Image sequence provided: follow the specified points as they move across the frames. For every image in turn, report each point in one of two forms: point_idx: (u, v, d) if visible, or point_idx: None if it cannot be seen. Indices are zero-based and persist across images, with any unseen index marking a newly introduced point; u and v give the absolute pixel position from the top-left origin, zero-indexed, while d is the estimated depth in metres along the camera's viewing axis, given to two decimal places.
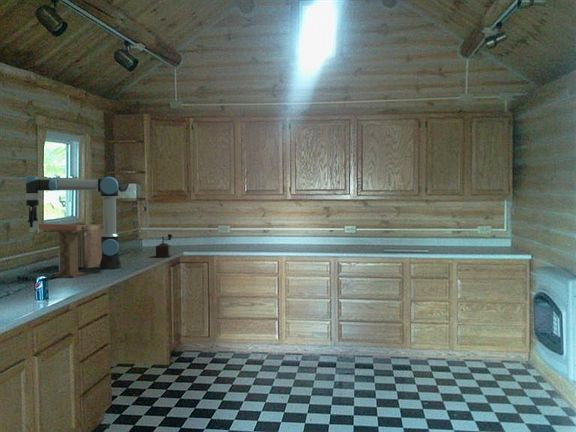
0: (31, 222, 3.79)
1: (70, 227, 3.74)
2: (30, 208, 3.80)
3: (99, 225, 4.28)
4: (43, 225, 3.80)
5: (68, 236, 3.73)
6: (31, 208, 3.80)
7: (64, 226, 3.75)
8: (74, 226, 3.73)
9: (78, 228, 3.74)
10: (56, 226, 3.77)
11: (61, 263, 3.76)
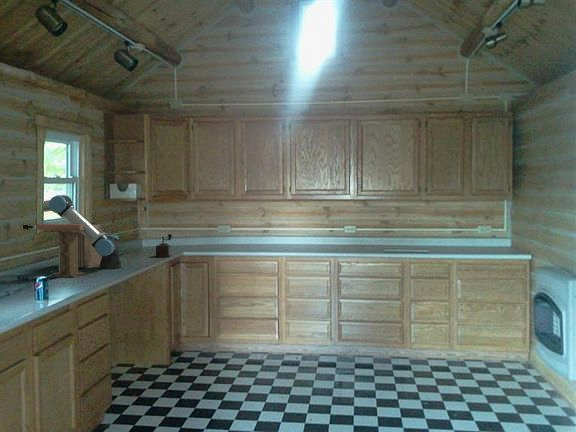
0: (27, 226, 3.83)
1: (72, 227, 3.76)
2: None
3: (99, 225, 4.28)
4: (41, 225, 3.78)
5: (68, 236, 3.73)
6: None
7: (65, 226, 3.76)
8: (77, 226, 3.75)
9: (81, 228, 3.77)
10: (56, 226, 3.77)
11: (61, 263, 3.76)
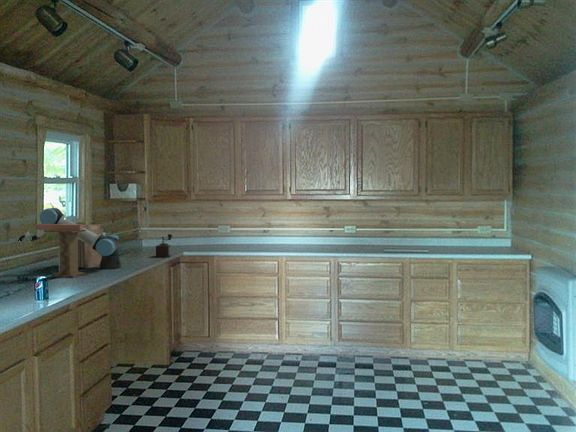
0: (20, 237, 3.79)
1: (72, 227, 3.76)
2: None
3: (99, 225, 4.28)
4: (41, 225, 3.78)
5: (68, 236, 3.73)
6: None
7: (65, 226, 3.76)
8: (77, 226, 3.75)
9: (81, 228, 3.77)
10: (56, 226, 3.77)
11: (61, 263, 3.76)
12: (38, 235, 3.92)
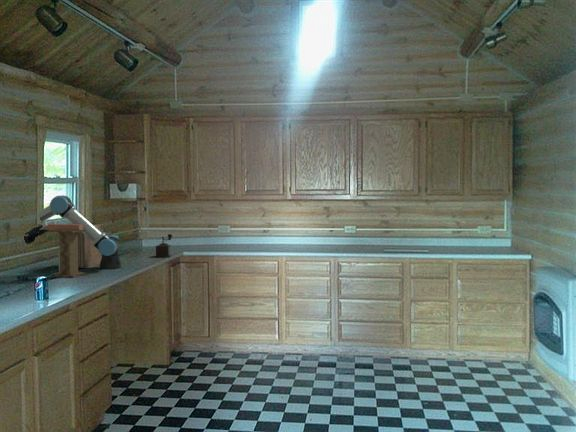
0: (37, 228, 3.78)
1: (72, 227, 3.75)
2: (26, 235, 3.80)
3: (99, 225, 4.28)
4: None
5: (68, 236, 3.73)
6: (26, 235, 3.80)
7: (65, 226, 3.76)
8: (76, 226, 3.74)
9: (80, 228, 3.76)
10: (57, 226, 3.77)
11: (61, 263, 3.76)
12: None
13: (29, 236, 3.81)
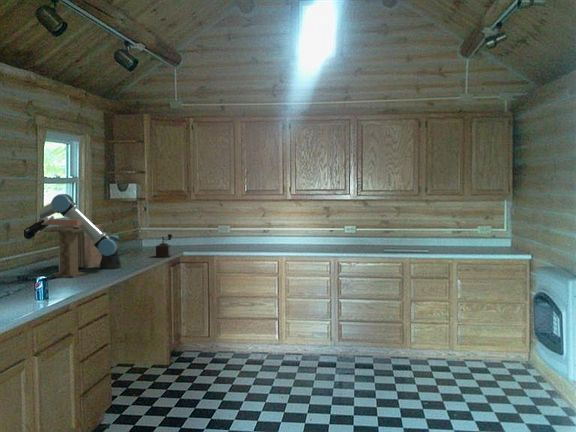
0: (39, 222, 3.79)
1: (70, 222, 3.74)
2: (27, 230, 3.80)
3: (99, 225, 4.28)
4: None
5: (68, 236, 3.73)
6: (26, 229, 3.80)
7: (64, 221, 3.75)
8: (74, 221, 3.73)
9: (78, 223, 3.74)
10: (56, 221, 3.77)
11: (61, 263, 3.76)
12: None
13: (29, 231, 3.81)
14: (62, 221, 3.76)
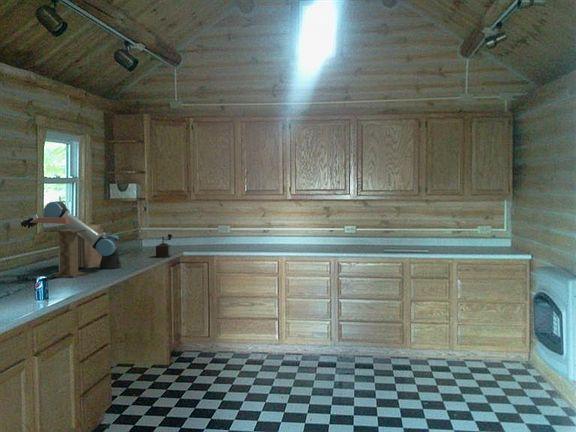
0: (28, 220, 3.82)
1: (59, 220, 3.76)
2: None
3: (99, 225, 4.28)
4: None
5: (68, 236, 3.73)
6: None
7: (53, 219, 3.78)
8: (63, 219, 3.75)
9: (67, 221, 3.76)
10: (45, 219, 3.80)
11: (61, 263, 3.76)
12: None
13: None
14: (51, 219, 3.78)
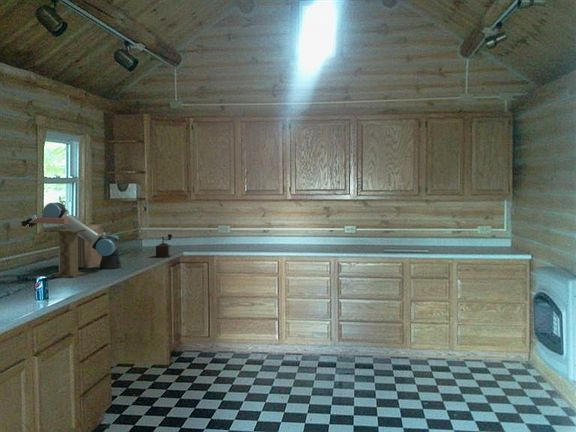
0: (27, 221, 3.82)
1: (57, 220, 3.77)
2: None
3: (99, 225, 4.28)
4: None
5: (68, 236, 3.73)
6: None
7: (51, 219, 3.78)
8: (61, 219, 3.76)
9: (65, 221, 3.77)
10: (44, 219, 3.80)
11: (61, 263, 3.76)
12: None
13: None
14: (49, 219, 3.79)
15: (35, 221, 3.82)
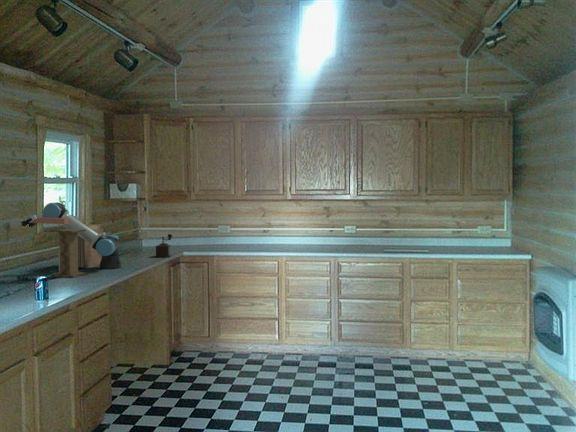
0: (27, 221, 3.82)
1: (57, 220, 3.77)
2: None
3: (99, 225, 4.28)
4: None
5: (68, 236, 3.73)
6: None
7: (51, 219, 3.78)
8: (61, 219, 3.76)
9: (65, 221, 3.77)
10: (44, 219, 3.80)
11: (61, 263, 3.76)
12: None
13: None
14: (49, 219, 3.79)
15: (35, 221, 3.82)
